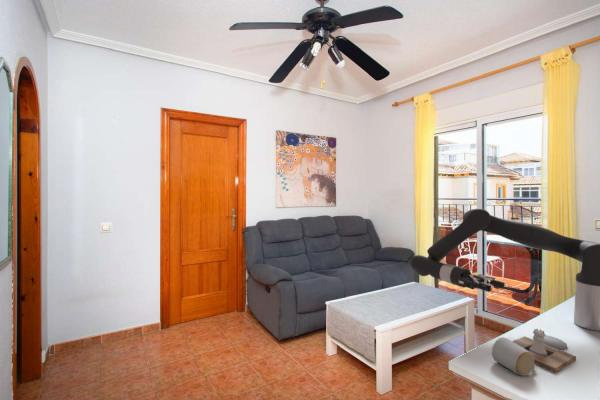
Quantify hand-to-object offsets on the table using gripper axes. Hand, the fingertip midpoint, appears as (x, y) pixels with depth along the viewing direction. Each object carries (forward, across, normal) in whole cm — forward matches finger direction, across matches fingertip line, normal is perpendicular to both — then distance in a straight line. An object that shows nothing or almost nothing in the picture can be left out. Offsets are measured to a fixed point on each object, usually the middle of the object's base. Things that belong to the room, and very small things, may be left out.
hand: (497, 287), depth 106 cm
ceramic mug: (+13, -14, +18) cm, 27 cm away
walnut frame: (+13, 0, +18) cm, 22 cm away
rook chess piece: (+13, 0, +18) cm, 22 cm away
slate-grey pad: (+11, +13, +18) cm, 25 cm away
